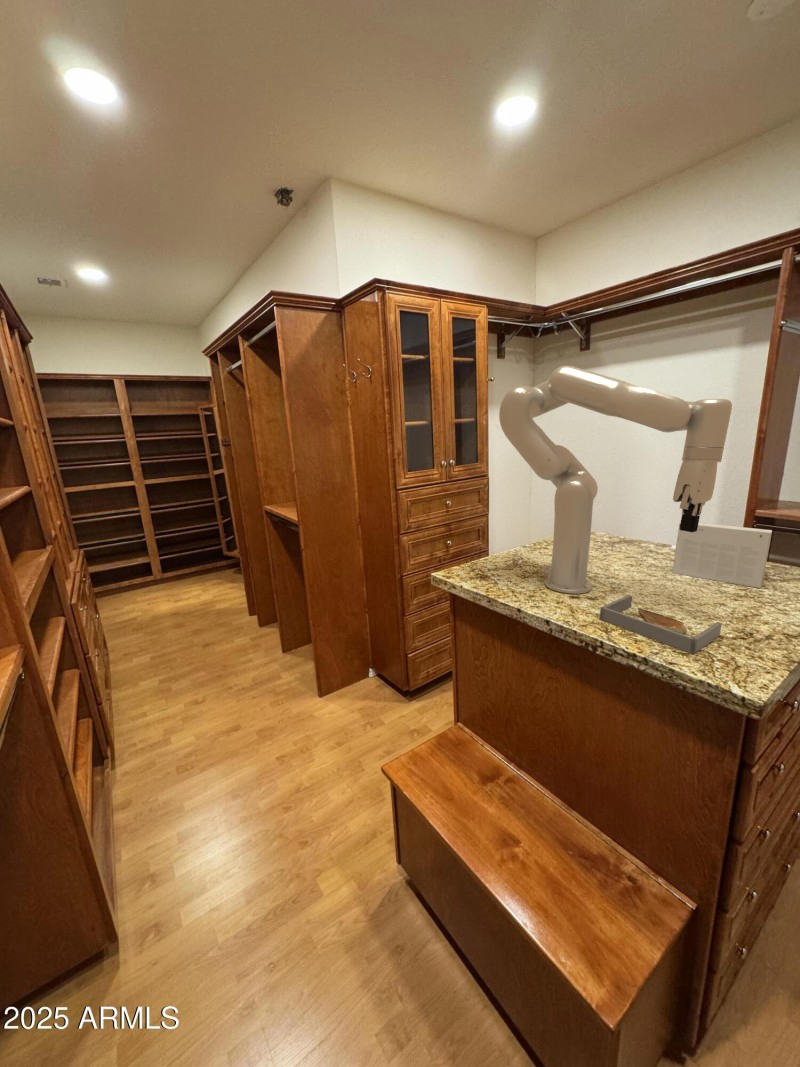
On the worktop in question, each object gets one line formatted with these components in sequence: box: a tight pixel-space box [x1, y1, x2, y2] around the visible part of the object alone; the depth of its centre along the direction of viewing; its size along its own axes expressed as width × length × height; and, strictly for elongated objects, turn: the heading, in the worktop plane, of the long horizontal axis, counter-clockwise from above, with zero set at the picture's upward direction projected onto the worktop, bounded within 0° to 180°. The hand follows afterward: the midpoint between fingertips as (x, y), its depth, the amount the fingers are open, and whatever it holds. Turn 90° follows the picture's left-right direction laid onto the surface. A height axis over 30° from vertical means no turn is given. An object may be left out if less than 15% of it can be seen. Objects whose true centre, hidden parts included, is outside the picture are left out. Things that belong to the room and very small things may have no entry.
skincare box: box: [671, 522, 773, 589], centre depth 119 cm, size 21×5×16 cm, turn 47°
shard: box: [637, 607, 688, 635], centre depth 94 cm, size 11×8×2 cm
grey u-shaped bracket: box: [599, 594, 723, 655], centre depth 92 cm, size 20×13×3 cm, turn 34°
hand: (687, 530), depth 100 cm, fingers closed
